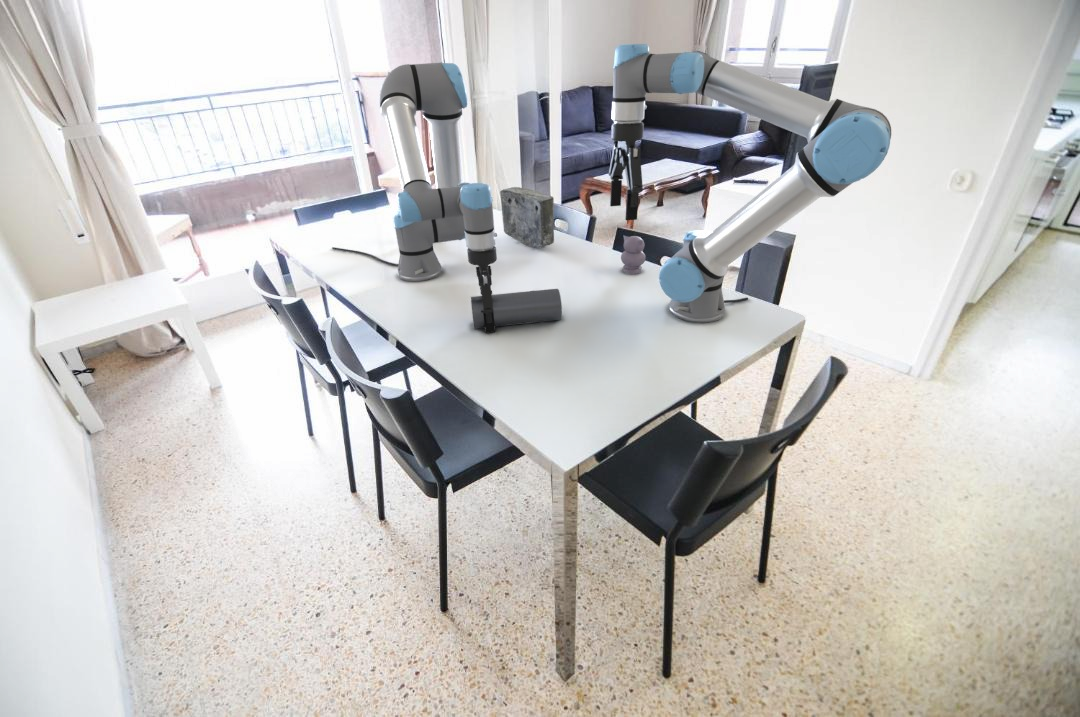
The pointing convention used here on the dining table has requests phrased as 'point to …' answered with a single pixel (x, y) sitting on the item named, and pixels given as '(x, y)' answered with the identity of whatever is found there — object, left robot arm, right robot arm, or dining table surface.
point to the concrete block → (528, 216)
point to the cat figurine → (633, 254)
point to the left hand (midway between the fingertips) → (489, 323)
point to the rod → (520, 307)
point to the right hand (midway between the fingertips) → (622, 212)
